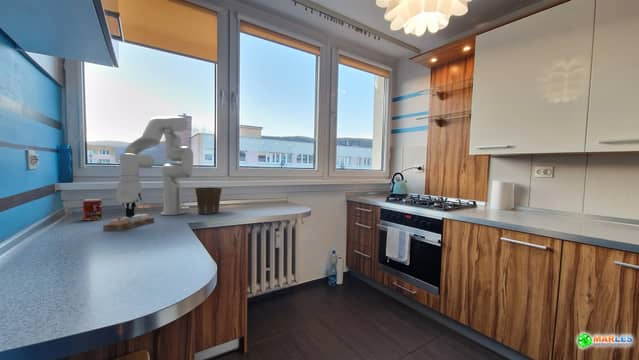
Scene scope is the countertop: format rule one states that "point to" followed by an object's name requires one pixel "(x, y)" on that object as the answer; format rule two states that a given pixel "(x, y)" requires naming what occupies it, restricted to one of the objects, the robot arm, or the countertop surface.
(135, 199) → the robot arm
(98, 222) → the countertop surface
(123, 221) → the tile three pip
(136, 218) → the tile two pip
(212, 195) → the plant pot
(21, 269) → the countertop surface
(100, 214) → the canned food
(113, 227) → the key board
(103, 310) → the countertop surface
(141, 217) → the tile one pip
